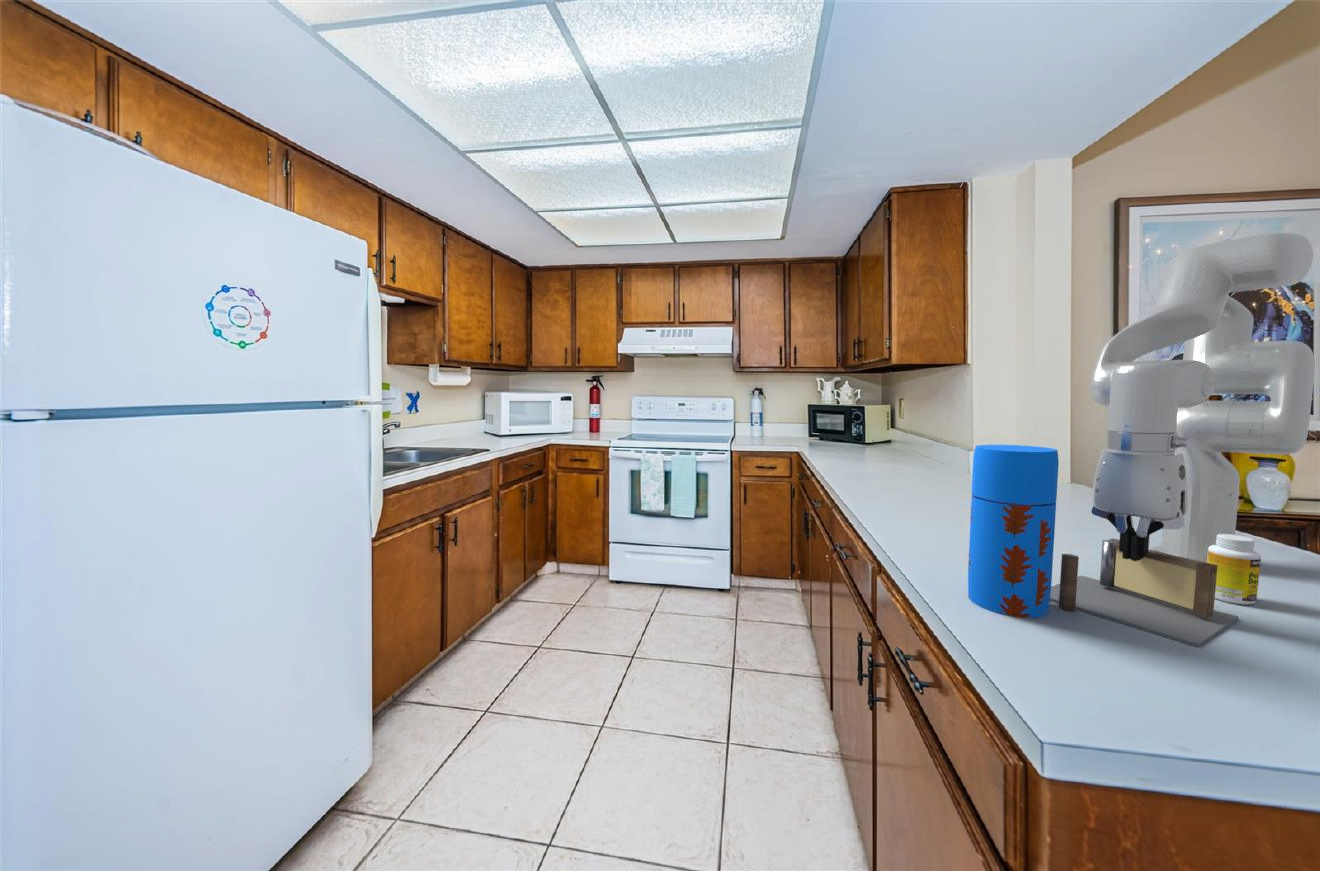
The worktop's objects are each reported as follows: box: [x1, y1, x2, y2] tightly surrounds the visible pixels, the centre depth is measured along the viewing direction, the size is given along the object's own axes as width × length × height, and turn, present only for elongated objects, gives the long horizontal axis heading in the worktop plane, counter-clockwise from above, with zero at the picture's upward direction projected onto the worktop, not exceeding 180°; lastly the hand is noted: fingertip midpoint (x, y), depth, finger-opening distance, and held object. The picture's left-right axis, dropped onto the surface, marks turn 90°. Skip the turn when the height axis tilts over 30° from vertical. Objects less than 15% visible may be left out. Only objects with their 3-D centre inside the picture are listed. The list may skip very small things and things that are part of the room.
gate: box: [1099, 539, 1218, 617], centre depth 77 cm, size 14×2×8 cm, turn 19°
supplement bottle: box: [1207, 534, 1262, 606], centre depth 79 cm, size 6×6×10 cm
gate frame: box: [1049, 538, 1239, 648], centre depth 76 cm, size 18×19×8 cm
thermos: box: [967, 444, 1060, 619], centre depth 78 cm, size 11×11×25 cm
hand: (1133, 558), depth 78 cm, fingers closed
